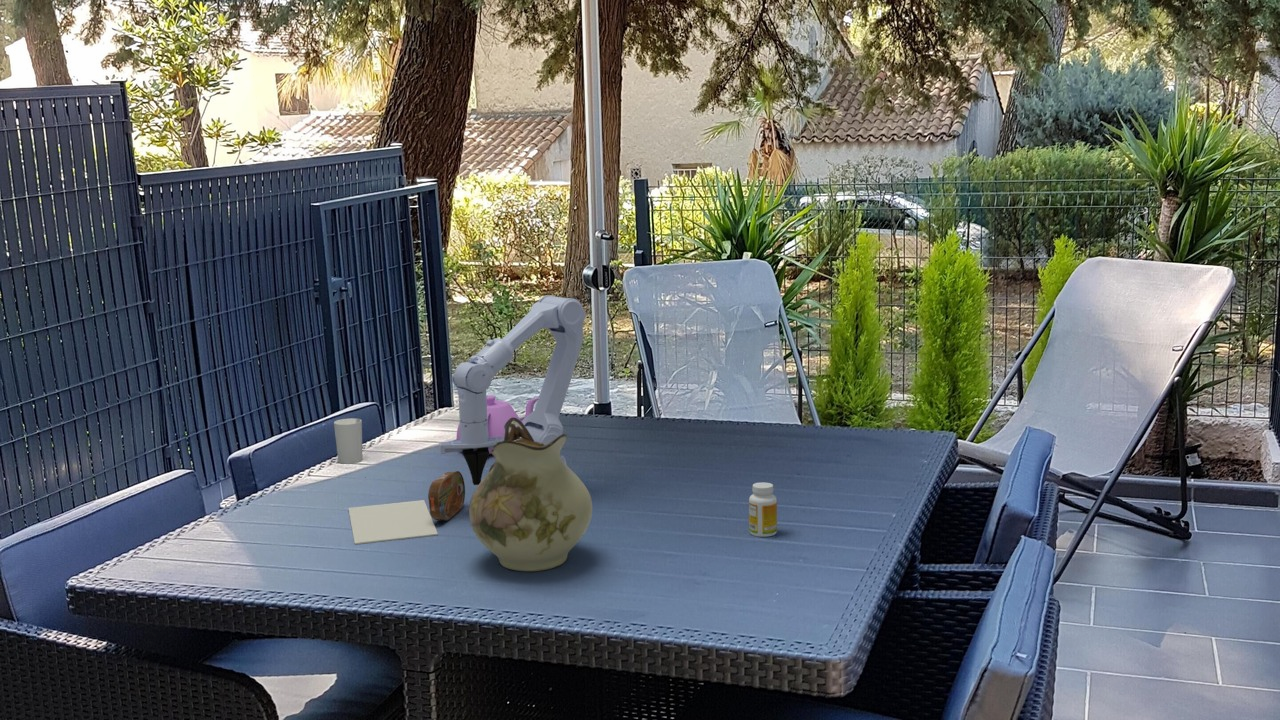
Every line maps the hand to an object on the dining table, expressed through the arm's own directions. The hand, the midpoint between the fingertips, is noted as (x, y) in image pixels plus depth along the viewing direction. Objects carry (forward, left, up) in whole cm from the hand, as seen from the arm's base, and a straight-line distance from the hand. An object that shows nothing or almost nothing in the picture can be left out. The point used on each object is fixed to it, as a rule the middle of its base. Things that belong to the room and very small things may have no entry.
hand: (476, 483), depth 242 cm
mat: (+18, 0, -6) cm, 19 cm away
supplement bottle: (-51, +33, -6) cm, 61 cm away
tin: (+6, 0, -6) cm, 9 cm away
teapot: (-14, -51, -6) cm, 53 cm away
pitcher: (-5, +32, -6) cm, 33 cm away
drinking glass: (+23, -53, -6) cm, 58 cm away
